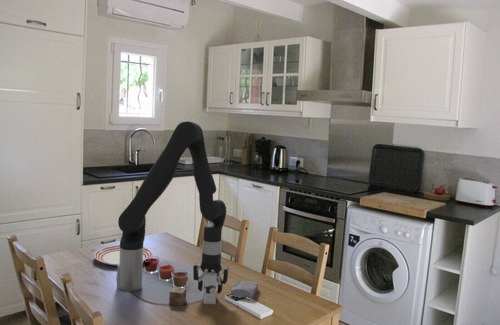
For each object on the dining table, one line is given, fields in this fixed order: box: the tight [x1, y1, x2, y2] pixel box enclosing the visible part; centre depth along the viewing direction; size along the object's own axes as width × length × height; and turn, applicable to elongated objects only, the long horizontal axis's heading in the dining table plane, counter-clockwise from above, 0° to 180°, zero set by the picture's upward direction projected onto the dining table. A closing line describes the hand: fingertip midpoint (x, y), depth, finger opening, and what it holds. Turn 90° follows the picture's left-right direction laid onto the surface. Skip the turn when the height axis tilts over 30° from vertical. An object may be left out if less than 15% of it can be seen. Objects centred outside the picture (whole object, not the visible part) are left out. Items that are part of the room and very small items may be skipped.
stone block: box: [231, 280, 259, 300], centre depth 184 cm, size 12×5×10 cm
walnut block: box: [168, 286, 187, 307], centre depth 171 cm, size 5×5×5 cm
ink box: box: [203, 272, 218, 305], centre depth 174 cm, size 8×5×12 cm, turn 5°
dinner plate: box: [93, 244, 154, 267], centre depth 215 cm, size 28×27×3 cm
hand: (209, 291), depth 175 cm, fingers open, 7 cm apart
